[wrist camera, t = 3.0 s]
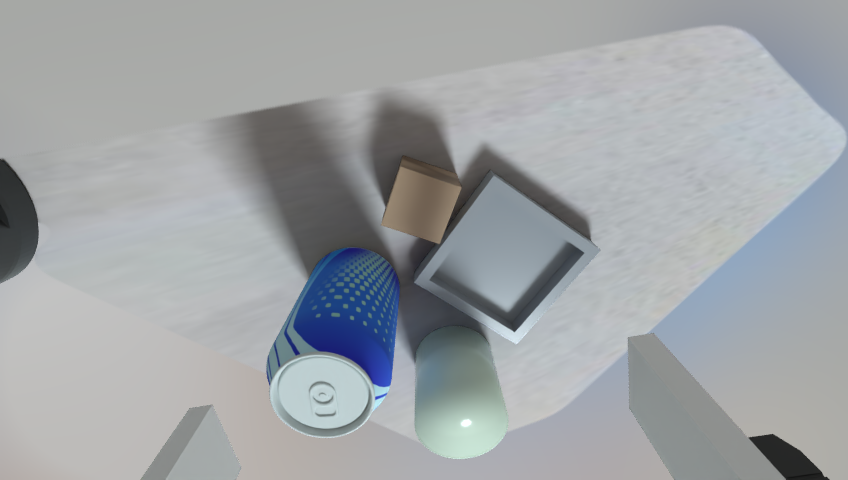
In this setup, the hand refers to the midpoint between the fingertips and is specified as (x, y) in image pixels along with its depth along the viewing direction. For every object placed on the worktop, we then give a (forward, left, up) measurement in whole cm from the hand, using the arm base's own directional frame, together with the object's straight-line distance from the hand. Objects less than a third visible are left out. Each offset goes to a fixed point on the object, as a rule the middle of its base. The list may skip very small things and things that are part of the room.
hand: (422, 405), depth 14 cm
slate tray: (+10, -1, -27) cm, 29 cm away
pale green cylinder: (+13, -13, -27) cm, 32 cm away
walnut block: (0, 0, -27) cm, 27 cm away
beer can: (0, -11, -27) cm, 29 cm away
